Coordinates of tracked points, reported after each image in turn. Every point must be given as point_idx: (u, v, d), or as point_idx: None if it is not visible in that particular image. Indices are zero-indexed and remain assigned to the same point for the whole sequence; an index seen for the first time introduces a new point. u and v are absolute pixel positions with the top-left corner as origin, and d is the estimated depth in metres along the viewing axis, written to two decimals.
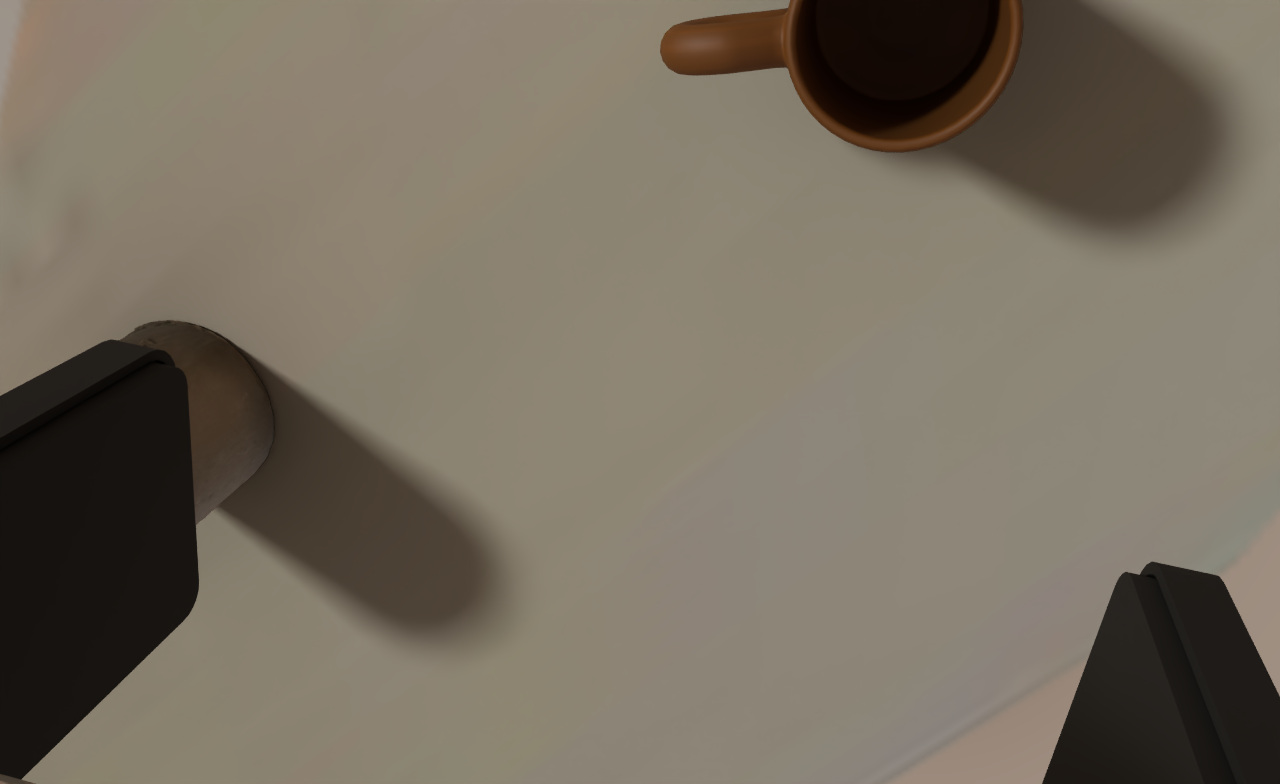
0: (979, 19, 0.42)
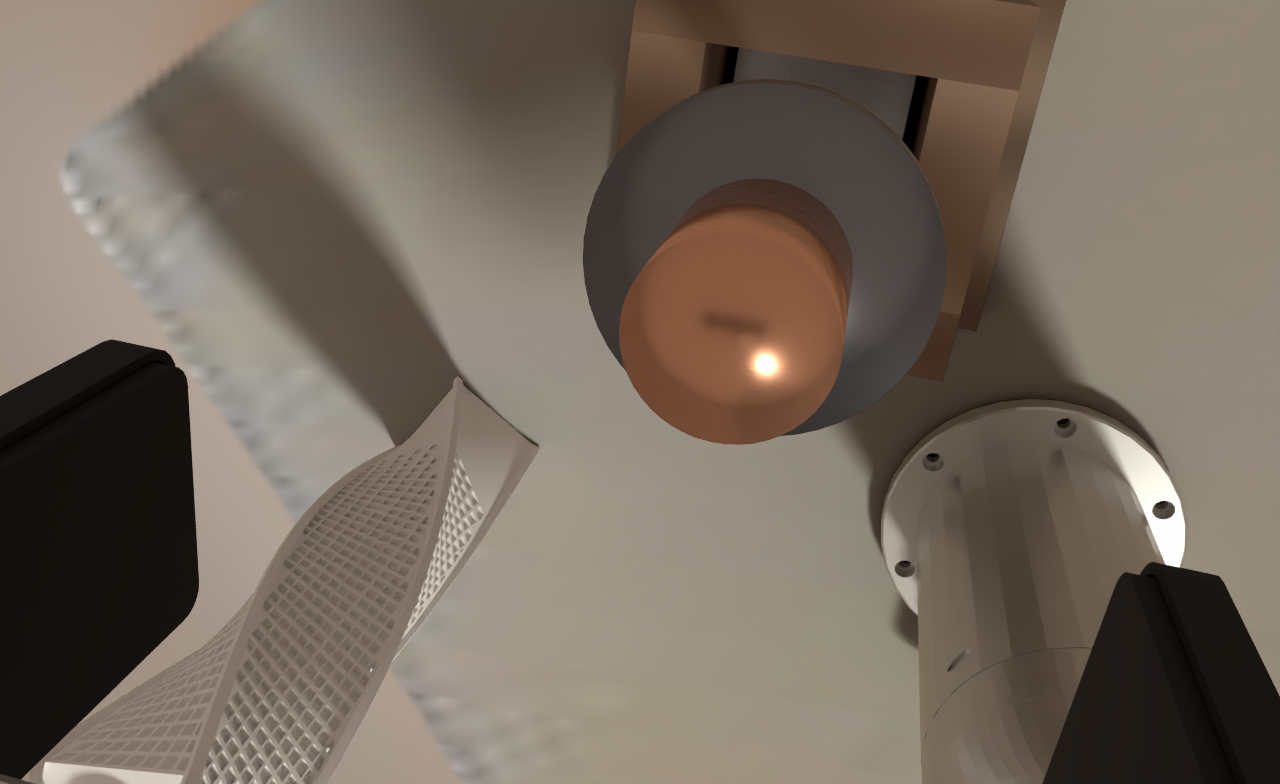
0: None
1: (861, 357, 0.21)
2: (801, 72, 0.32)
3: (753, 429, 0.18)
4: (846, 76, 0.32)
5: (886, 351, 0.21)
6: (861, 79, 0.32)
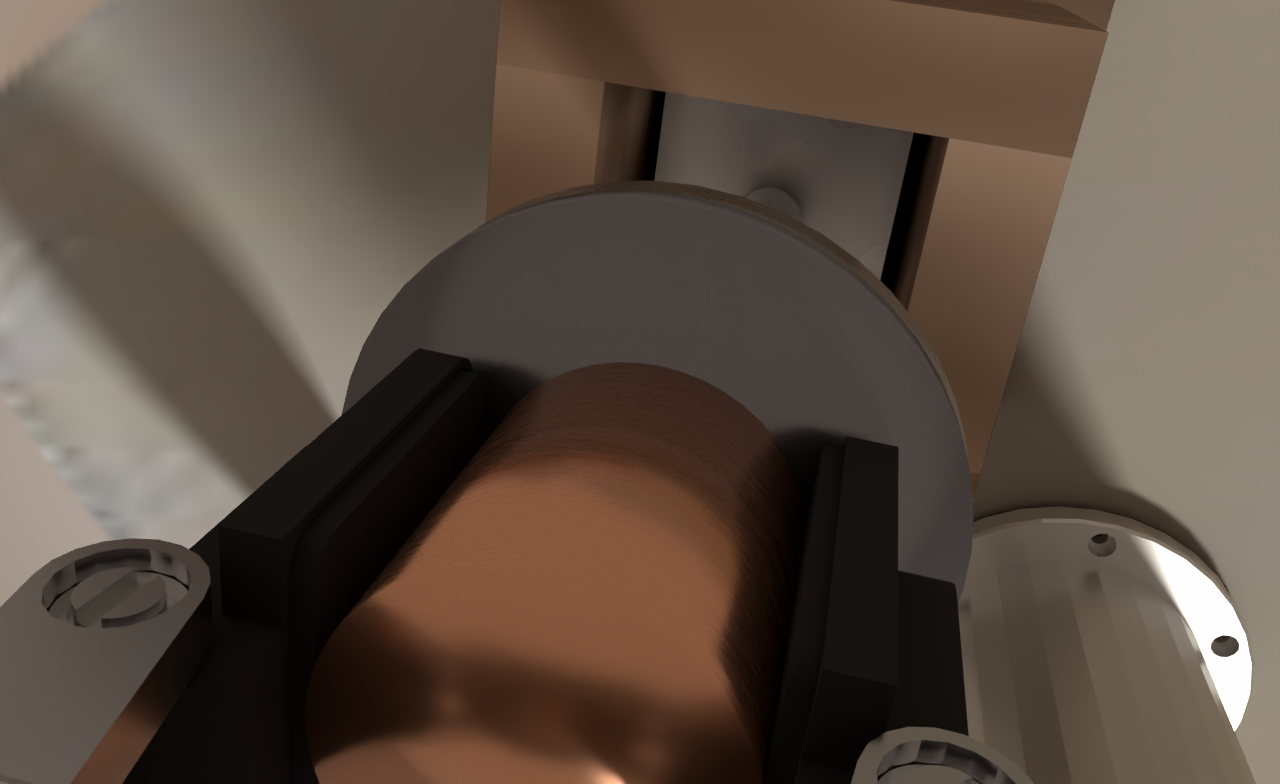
0: None
1: None
2: (754, 117, 0.23)
3: None
4: (817, 123, 0.23)
5: None
6: (838, 127, 0.23)
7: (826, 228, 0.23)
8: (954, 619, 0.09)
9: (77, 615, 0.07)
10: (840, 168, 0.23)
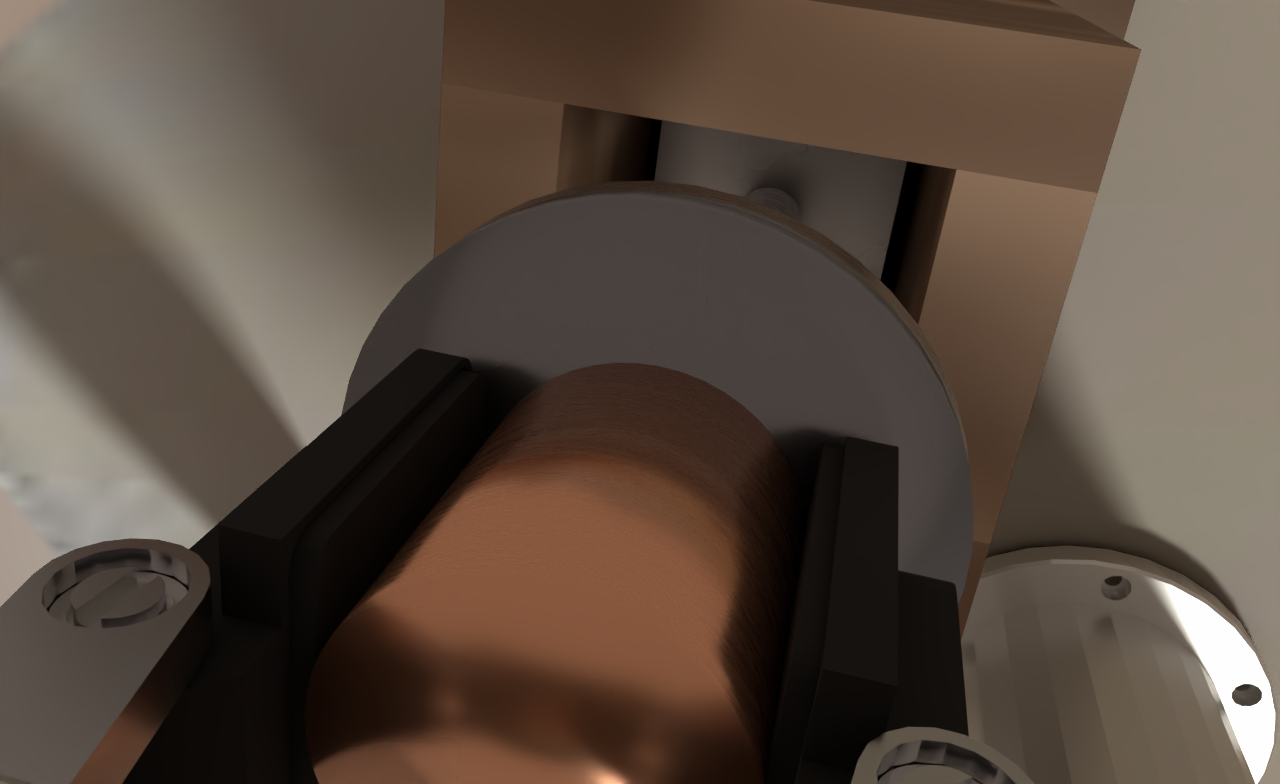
0: None
1: None
2: None
3: None
4: None
5: None
6: None
7: (826, 228, 0.23)
8: (954, 619, 0.09)
9: (77, 615, 0.07)
10: (840, 168, 0.23)
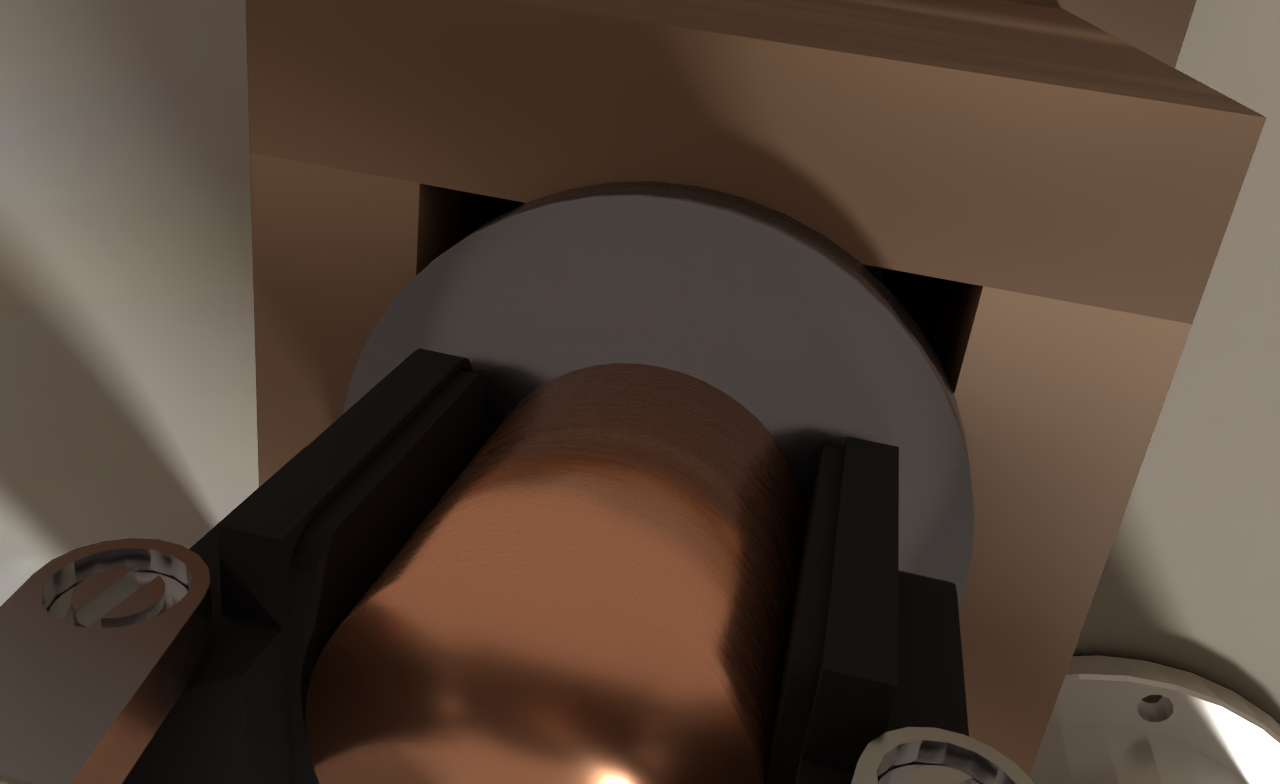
0: None
1: None
2: None
3: None
4: None
5: None
6: None
7: None
8: (955, 619, 0.09)
9: (77, 615, 0.07)
10: None
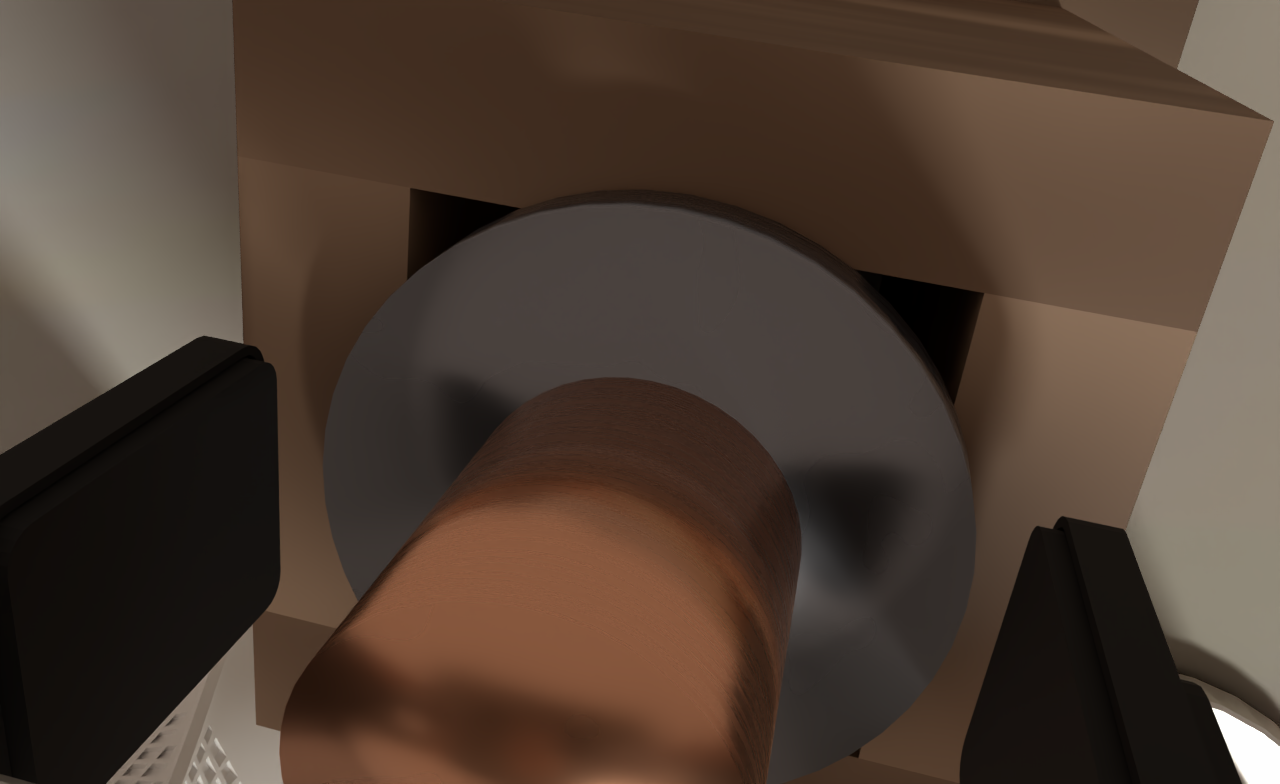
0: None
1: (820, 684, 0.12)
2: None
3: None
4: None
5: (864, 678, 0.12)
6: None
7: None
8: (1218, 732, 0.08)
9: None
10: None
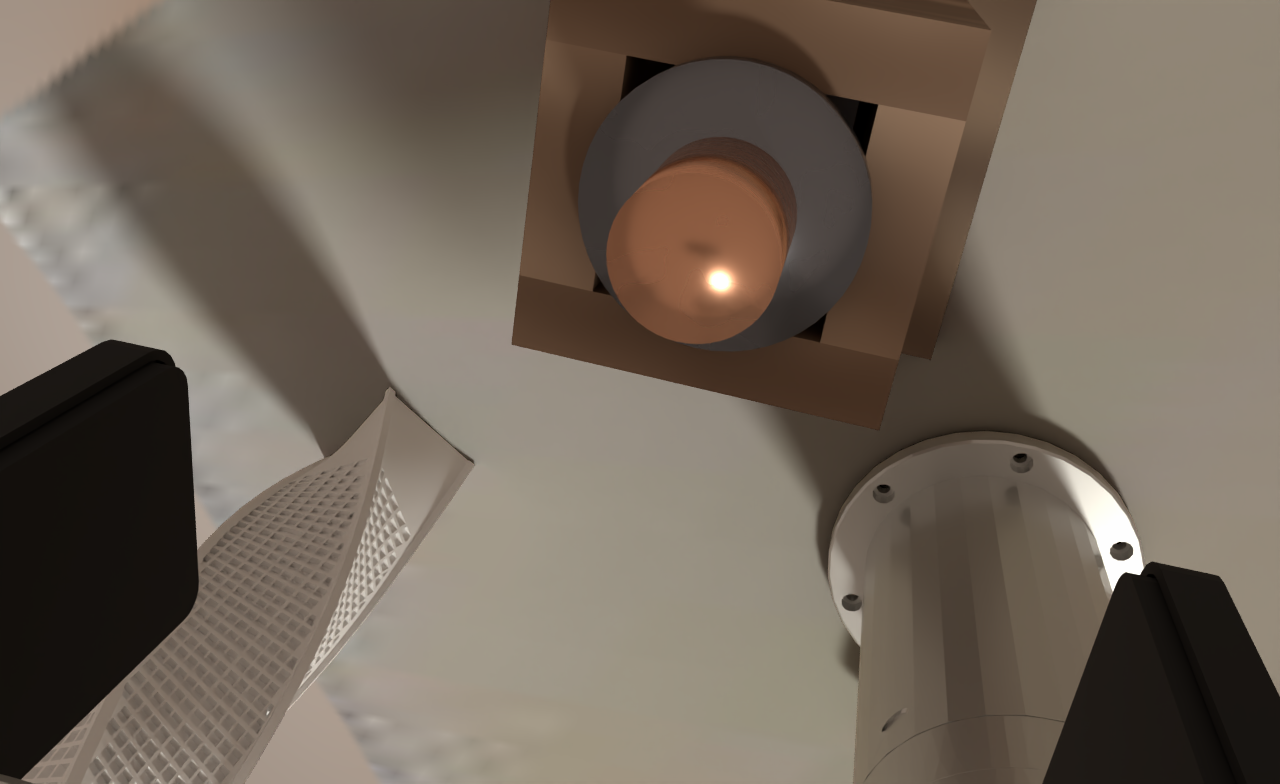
0: None
1: (803, 286, 0.26)
2: None
3: (710, 331, 0.23)
4: None
5: (823, 281, 0.26)
6: None
7: None
8: None
9: None
10: None
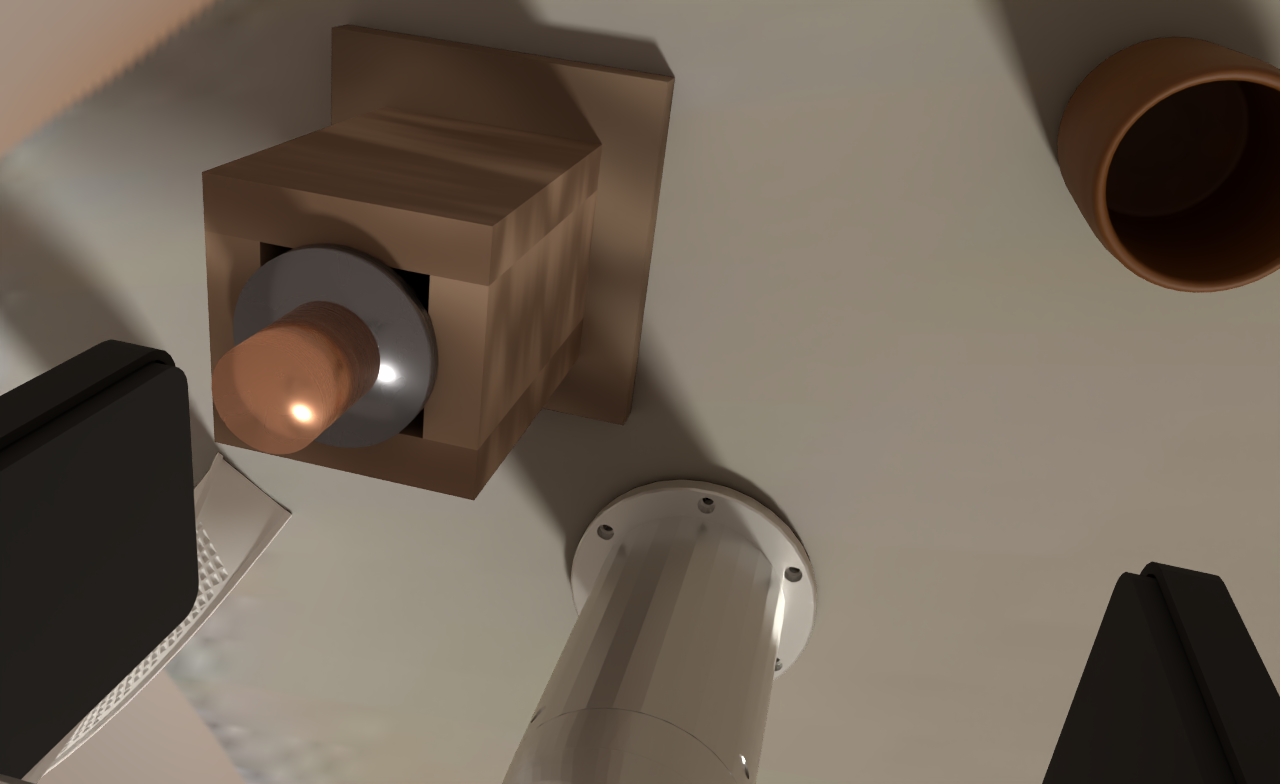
0: None
1: (392, 401, 0.36)
2: None
3: (287, 446, 0.33)
4: None
5: (405, 398, 0.36)
6: None
7: None
8: None
9: None
10: None
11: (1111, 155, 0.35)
